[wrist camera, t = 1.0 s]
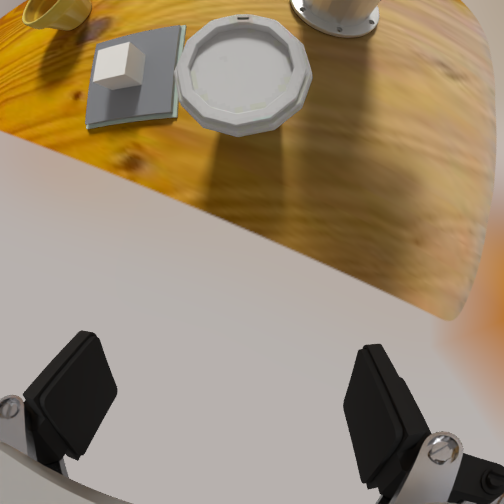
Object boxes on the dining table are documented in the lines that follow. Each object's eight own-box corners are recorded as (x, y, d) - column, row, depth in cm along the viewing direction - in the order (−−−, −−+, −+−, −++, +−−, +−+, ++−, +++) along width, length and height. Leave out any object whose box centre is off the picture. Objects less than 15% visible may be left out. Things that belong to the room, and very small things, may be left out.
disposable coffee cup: (292, 152, 31) (315, 139, 17) (203, 148, 32) (158, 134, 17) (296, 73, 28) (317, 13, 14) (209, 69, 29) (175, 12, 14)
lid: (100, 46, 27) (78, 33, 21) (181, 28, 26) (168, 7, 20) (89, 125, 30) (63, 120, 25) (173, 113, 30) (155, 103, 24)
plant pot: (96, 26, 26) (63, 4, 16) (50, 49, 26) (15, 35, 17) (106, -15, 23) (79, -39, 13) (60, 7, 23) (31, -10, 14)
